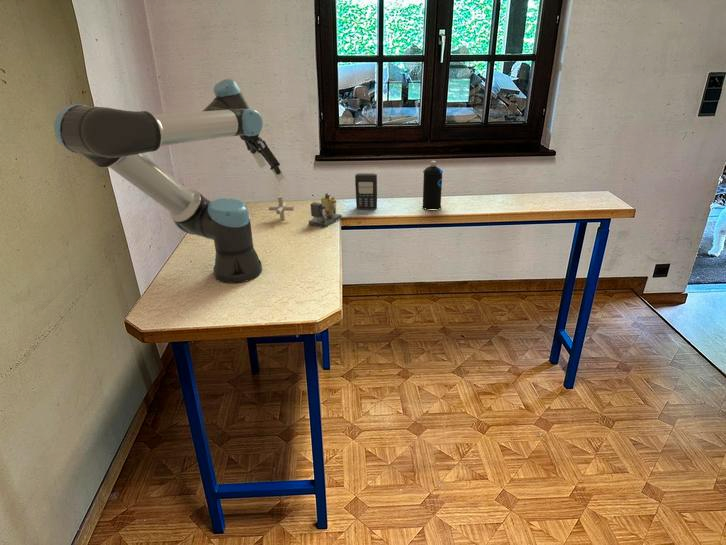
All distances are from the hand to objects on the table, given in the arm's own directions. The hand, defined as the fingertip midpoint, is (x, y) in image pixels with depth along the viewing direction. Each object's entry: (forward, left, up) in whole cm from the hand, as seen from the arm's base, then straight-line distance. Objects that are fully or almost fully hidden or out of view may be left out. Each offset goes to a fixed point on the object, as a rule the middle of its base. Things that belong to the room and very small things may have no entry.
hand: (272, 172), depth 176 cm
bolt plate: (+16, -11, -23) cm, 30 cm away
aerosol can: (+51, -43, -23) cm, 70 cm away
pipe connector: (+10, +6, -23) cm, 26 cm away
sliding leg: (+20, -11, -21) cm, 31 cm away
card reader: (+38, -18, -23) cm, 48 cm away
